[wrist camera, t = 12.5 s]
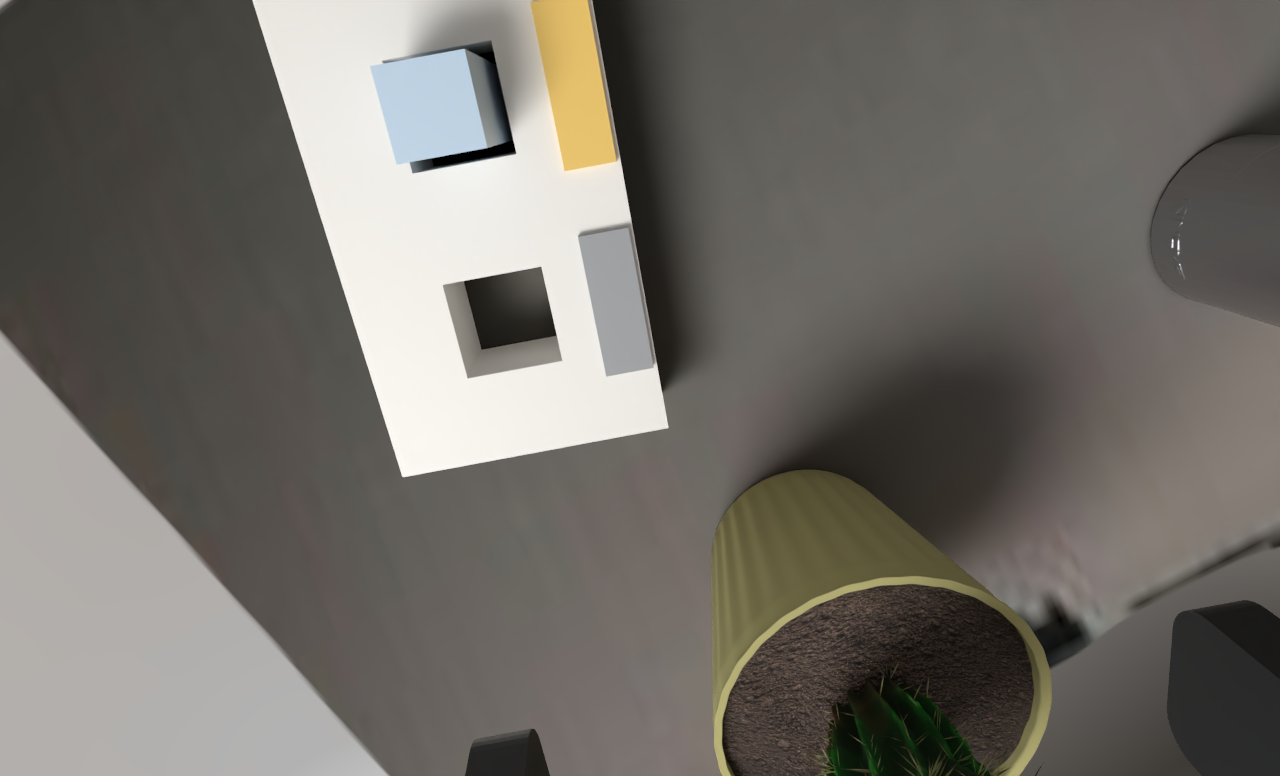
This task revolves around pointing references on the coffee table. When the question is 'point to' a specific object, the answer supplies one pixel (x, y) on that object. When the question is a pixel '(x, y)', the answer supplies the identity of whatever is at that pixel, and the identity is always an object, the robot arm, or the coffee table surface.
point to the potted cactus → (861, 645)
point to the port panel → (475, 226)
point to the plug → (441, 105)
